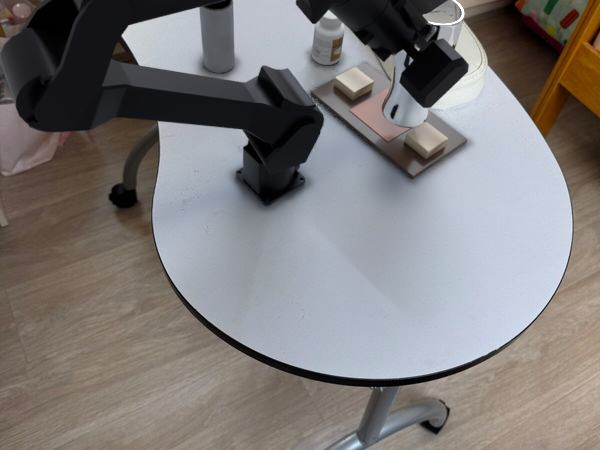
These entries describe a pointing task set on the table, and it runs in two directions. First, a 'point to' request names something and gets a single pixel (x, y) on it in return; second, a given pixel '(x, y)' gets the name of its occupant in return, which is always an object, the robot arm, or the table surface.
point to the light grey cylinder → (218, 36)
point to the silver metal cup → (398, 100)
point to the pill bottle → (328, 39)
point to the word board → (386, 121)
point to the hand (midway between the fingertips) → (426, 65)
